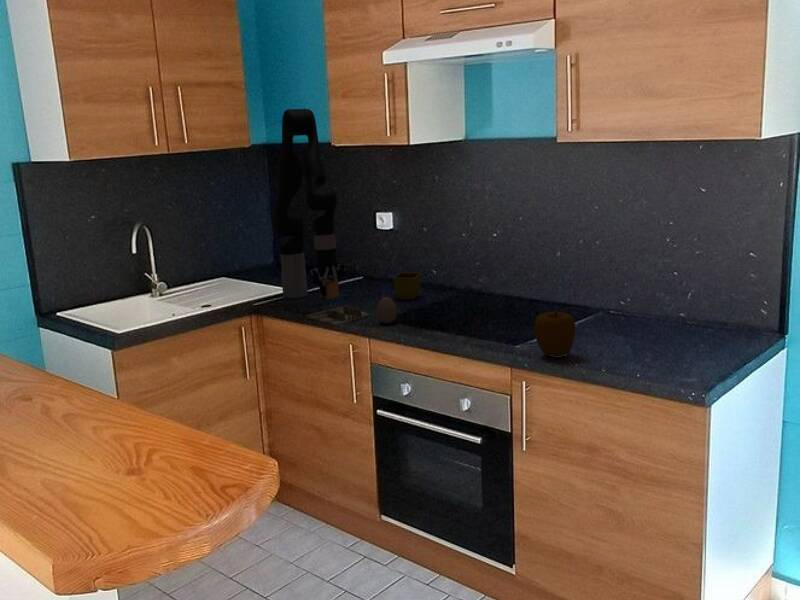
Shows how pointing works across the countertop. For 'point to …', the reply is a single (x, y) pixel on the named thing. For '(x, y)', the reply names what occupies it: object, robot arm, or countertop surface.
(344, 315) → the header board
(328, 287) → the plug block
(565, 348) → the apple
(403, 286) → the flower pot
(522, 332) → the countertop surface
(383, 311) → the egg
